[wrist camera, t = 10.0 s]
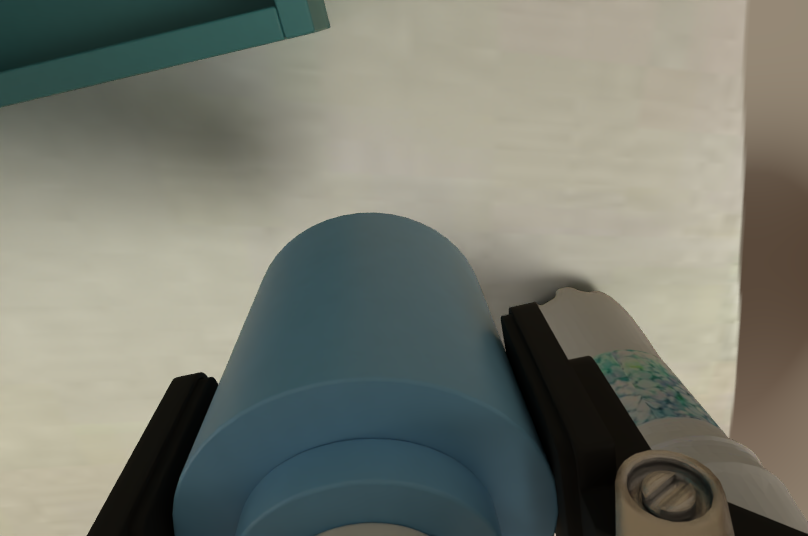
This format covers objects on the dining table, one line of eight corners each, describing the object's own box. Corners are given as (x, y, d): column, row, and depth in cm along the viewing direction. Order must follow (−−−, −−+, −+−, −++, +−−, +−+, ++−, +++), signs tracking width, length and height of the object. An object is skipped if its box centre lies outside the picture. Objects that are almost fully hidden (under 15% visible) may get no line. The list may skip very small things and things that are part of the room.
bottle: (514, 381, 32) (697, 849, 14) (499, 288, 29) (706, 727, 11) (623, 358, 32) (953, 806, 14) (619, 261, 29) (1029, 669, 11)
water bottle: (296, 423, 15) (225, 803, 8) (223, 241, 13) (17, 553, 5) (496, 382, 15) (613, 735, 8) (463, 188, 13) (592, 439, 5)
